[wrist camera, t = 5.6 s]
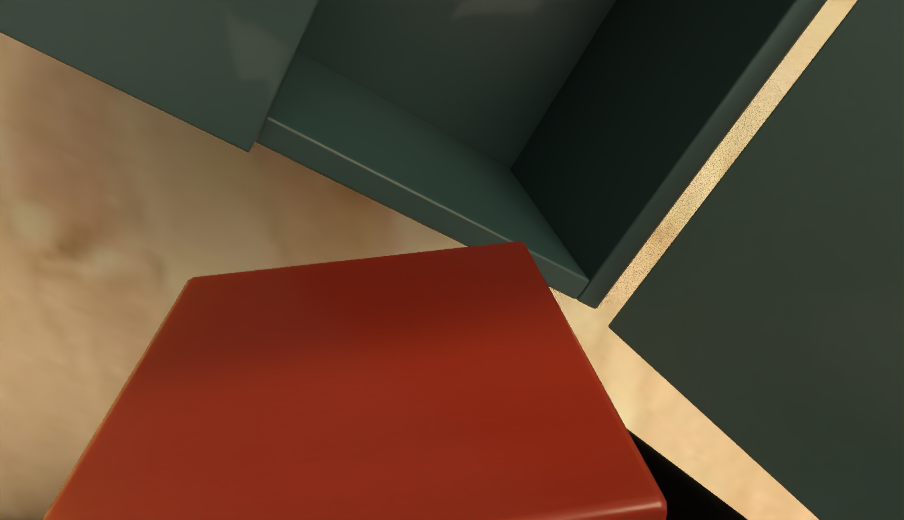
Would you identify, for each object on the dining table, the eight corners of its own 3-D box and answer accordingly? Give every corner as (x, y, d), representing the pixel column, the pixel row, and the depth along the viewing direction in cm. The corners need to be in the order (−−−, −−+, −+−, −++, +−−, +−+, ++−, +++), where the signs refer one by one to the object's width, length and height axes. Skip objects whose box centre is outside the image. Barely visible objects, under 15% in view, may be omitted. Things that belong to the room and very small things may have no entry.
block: (187, 274, 8) (-18, 606, 4) (524, 238, 8) (675, 504, 4) (260, 513, 9) (178, 898, 6) (527, 476, 10) (629, 813, 6)
